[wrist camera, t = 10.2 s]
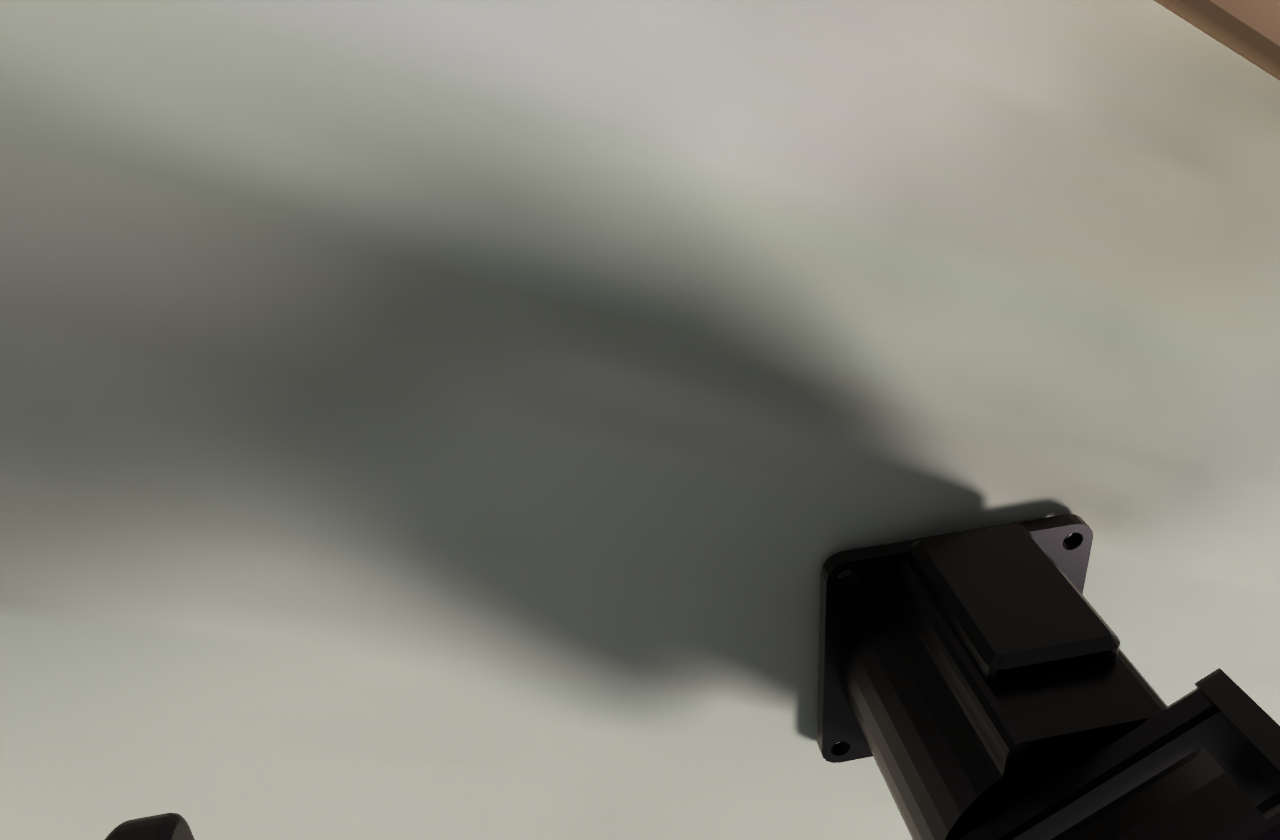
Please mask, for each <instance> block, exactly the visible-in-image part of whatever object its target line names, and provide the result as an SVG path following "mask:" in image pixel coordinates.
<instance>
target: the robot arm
mask: <svg viewBox="0 0 1280 840" xmlns="http://www.w3.org/2000/svg"><path fill="white" fill-rule="evenodd" d="M1072 533H1073V534H1072ZM1069 534H1072V535H1071V536H1070V537H1069V538H1067V539H1065V538H1066V537H1067V536H1068V535H1069ZM1064 539H1065V540H1064ZM1092 539H1093V533H1092V530H1091V529H1090V527H1089V526H1088V525H1087V524H1086V523H1085V522H1084V521H1083V520H1082V519H1081V518H1080V517H1079V516H1077V515H1074V514H1066V515H1060V516H1054V517H1048V518H1042V519H1036V520H1030V521H1024V522H1018V523H1012V524H1006V525H1000V526H994V527H988V528H982V529H975V530H969V531H963V532H957V533H951V534H945V535H939V536H933V537H927V538H921V539H915V540H909V541H903V542H897V543H891V544H885V545H879V546H873V547H867V548H861V549H855V550H849V551H842V552H839V553H836V554H834V555H832V556H831V557H830V558H828V559H827V560H826V562H825V563H824V564H823V566H822V570H821V589H820V631H819V672H818V713H817V743H818V746H819V749H820V751H821V753H822V756H823V758H825V759H826V760H827V761H829V762H833V763H835V762H844V761H850V760H855V759H860V758H865V757H871V756H874V758H875V761H876V763H877V765H878V767H879V769H880V771H881V773H882V775H883V777H884V780H885V782H886V784H887V786H888V788H889V790H890V792H891V794H892V796H893V799H894V801H895V803H896V805H897V807H898V809H899V811H900V813H901V815H902V818H903V820H904V822H905V824H906V826H907V828H908V830H909V832H910V834H911V837H912V839H913V840H1280V726H1279V725H1278V724H1277V723H1276V722H1275V721H1274V720H1273V719H1272V718H1271V717H1270V716H1269V715H1268V714H1267V713H1266V712H1265V711H1263V710H1262V709H1261V708H1260V707H1259V706H1258V705H1257V704H1256V703H1255V702H1254V701H1253V700H1252V699H1251V698H1250V697H1249V696H1248V695H1247V694H1246V693H1245V692H1244V691H1243V690H1242V689H1241V688H1240V687H1239V686H1237V685H1236V684H1235V683H1234V682H1233V681H1232V680H1231V679H1230V678H1229V677H1228V676H1227V675H1226V674H1225V673H1224V672H1223V671H1222V670H1221V669H1220V668H1219V669H1217V670H1216V671H1214V672H1212V673H1211V674H1209V675H1208V676H1206V677H1205V678H1203V679H1201V680H1200V681H1198V682H1197V683H1195V685H1196V687H1197V689H1195V690H1193V691H1192V692H1190V693H1189V694H1187V695H1185V696H1184V697H1182V698H1181V699H1179V700H1177V701H1176V702H1174V703H1173V704H1171V705H1169V706H1167V705H1166V704H1165V703H1164V702H1163V700H1162V699H1161V698H1160V697H1159V696H1158V694H1157V693H1156V692H1155V691H1154V690H1153V688H1152V687H1151V686H1150V685H1149V683H1148V682H1147V681H1146V680H1145V679H1144V677H1143V676H1142V675H1141V674H1140V673H1139V671H1138V670H1137V669H1136V668H1135V667H1134V665H1133V664H1132V663H1131V662H1130V661H1129V659H1128V658H1127V657H1126V656H1125V655H1124V653H1123V652H1122V651H1121V650H1120V649H1119V646H1120V641H1119V639H1118V637H1117V636H1116V634H1115V633H1114V632H1113V631H1112V630H1111V628H1110V627H1109V626H1108V625H1107V624H1106V623H1105V621H1104V620H1103V619H1102V618H1101V617H1100V615H1099V614H1098V613H1097V612H1096V611H1095V609H1094V608H1093V607H1092V606H1091V605H1090V603H1089V602H1088V601H1087V600H1086V599H1085V598H1084V596H1083V595H1082V593H1083V588H1084V582H1085V577H1086V572H1087V566H1088V561H1089V555H1090V550H1091V545H1092ZM848 570H849V571H851V572H850V573H849V574H848V575H847V576H844V577H838V576H839V575H840V574H841V573H843V572H845V571H848ZM838 742H839V743H838ZM836 743H837V744H836ZM105 840H195V839H194V837H193V835H192V832H191V830H190V828H189V825H188V824H187V822H186V820H185V819H184V818H183V817H182V816H181V815H179V814H177V813H167V814H161V815H156V816H150V817H144V818H139V819H133V820H129V821H126V822H124V823H122V824H120V825H119V826H118V827H116V828H115V829H114V830H113V831H112V832H111V833H110V834H109V835H108V836H107V838H106V839H105Z"/></svg>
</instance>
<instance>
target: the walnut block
mask: <svg viewBox="0 0 1280 840" xmlns="http://www.w3.org/2000/svg"><path fill="white" fill-rule="evenodd" d="M1154 1H1156V2H1157V3H1159V4H1161V5H1162V6H1164V7H1165V8H1167V9H1168V10H1170V11H1172V12H1173V13H1175V14H1176V15H1178V16H1179V17H1181V18H1183V19H1184V20H1186V21H1187V22H1189V23H1190V24H1192V25H1194V26H1195V27H1197V28H1198V29H1200V30H1201V31H1203V32H1205V33H1206V34H1208V35H1209V36H1211V37H1212V38H1214V39H1216V40H1217V41H1219V42H1220V43H1222V44H1223V45H1225V46H1227V47H1228V48H1230V49H1231V50H1233V51H1234V52H1236V53H1238V54H1239V55H1241V56H1242V57H1244V58H1245V59H1247V60H1249V61H1250V62H1252V63H1253V64H1255V65H1256V66H1258V67H1260V68H1261V69H1263V70H1264V71H1266V72H1267V73H1269V74H1271V75H1272V76H1274V77H1275V78H1277V79H1278V80H1280V0H1154Z"/></svg>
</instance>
